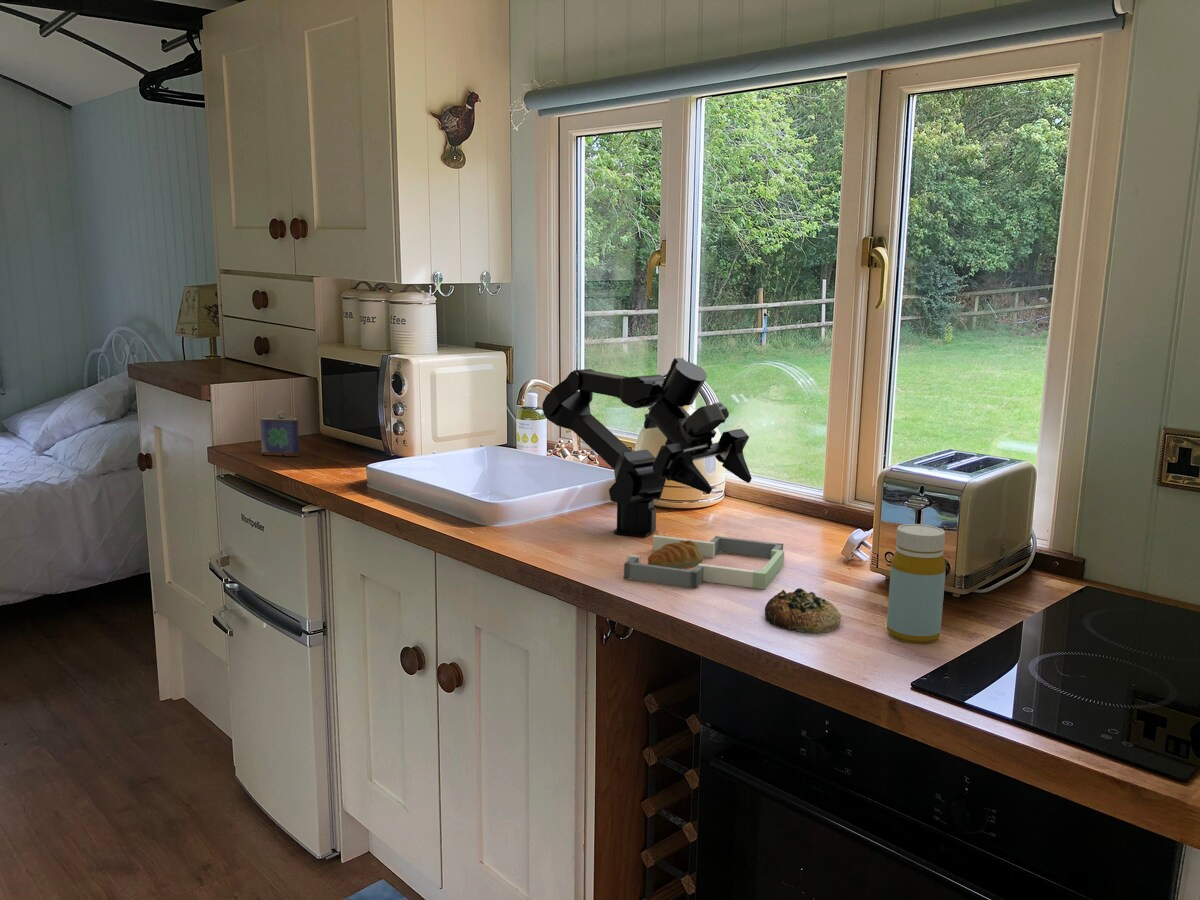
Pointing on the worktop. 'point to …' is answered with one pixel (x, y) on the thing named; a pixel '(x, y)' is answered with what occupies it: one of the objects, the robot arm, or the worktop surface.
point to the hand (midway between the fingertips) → (730, 486)
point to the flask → (280, 434)
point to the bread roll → (802, 612)
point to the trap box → (711, 572)
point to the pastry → (677, 555)
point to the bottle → (917, 584)
